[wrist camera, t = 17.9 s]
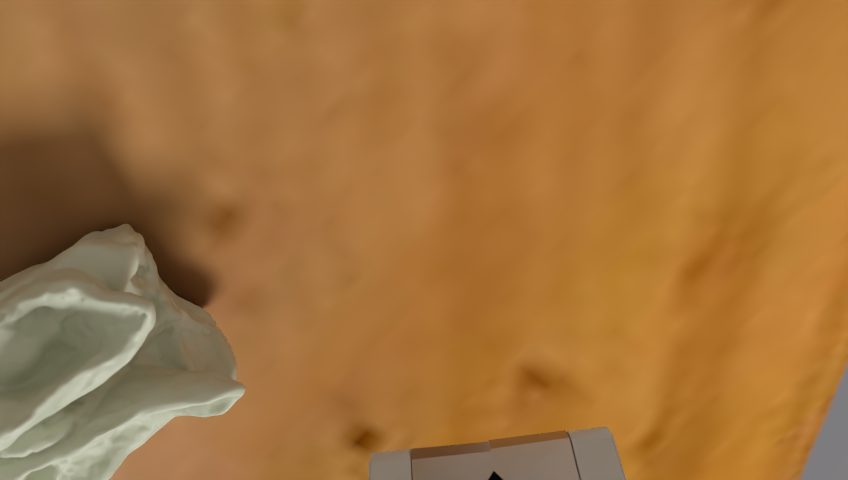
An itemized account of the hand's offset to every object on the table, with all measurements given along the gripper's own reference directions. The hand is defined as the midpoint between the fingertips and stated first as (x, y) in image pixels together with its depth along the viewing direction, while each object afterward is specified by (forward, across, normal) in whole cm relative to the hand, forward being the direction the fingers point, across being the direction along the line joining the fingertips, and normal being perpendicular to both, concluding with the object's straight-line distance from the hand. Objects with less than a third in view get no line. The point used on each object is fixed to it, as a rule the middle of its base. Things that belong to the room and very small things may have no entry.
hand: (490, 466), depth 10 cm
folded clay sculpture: (+29, +21, +20) cm, 41 cm away
